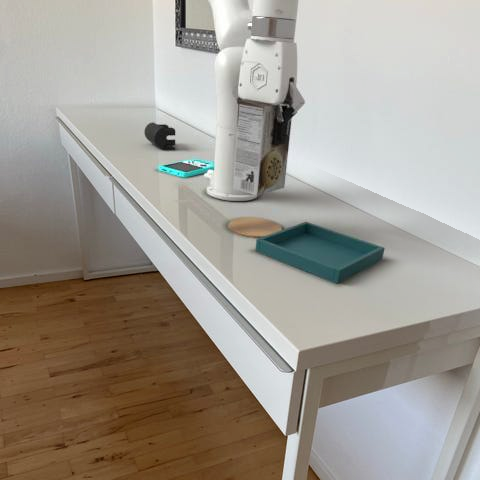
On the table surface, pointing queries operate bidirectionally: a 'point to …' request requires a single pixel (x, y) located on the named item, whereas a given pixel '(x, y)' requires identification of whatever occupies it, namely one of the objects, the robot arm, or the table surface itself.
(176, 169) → the handheld game console
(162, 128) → the end cap
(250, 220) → the coaster
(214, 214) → the table surface
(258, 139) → the coffee box
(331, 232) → the tray
